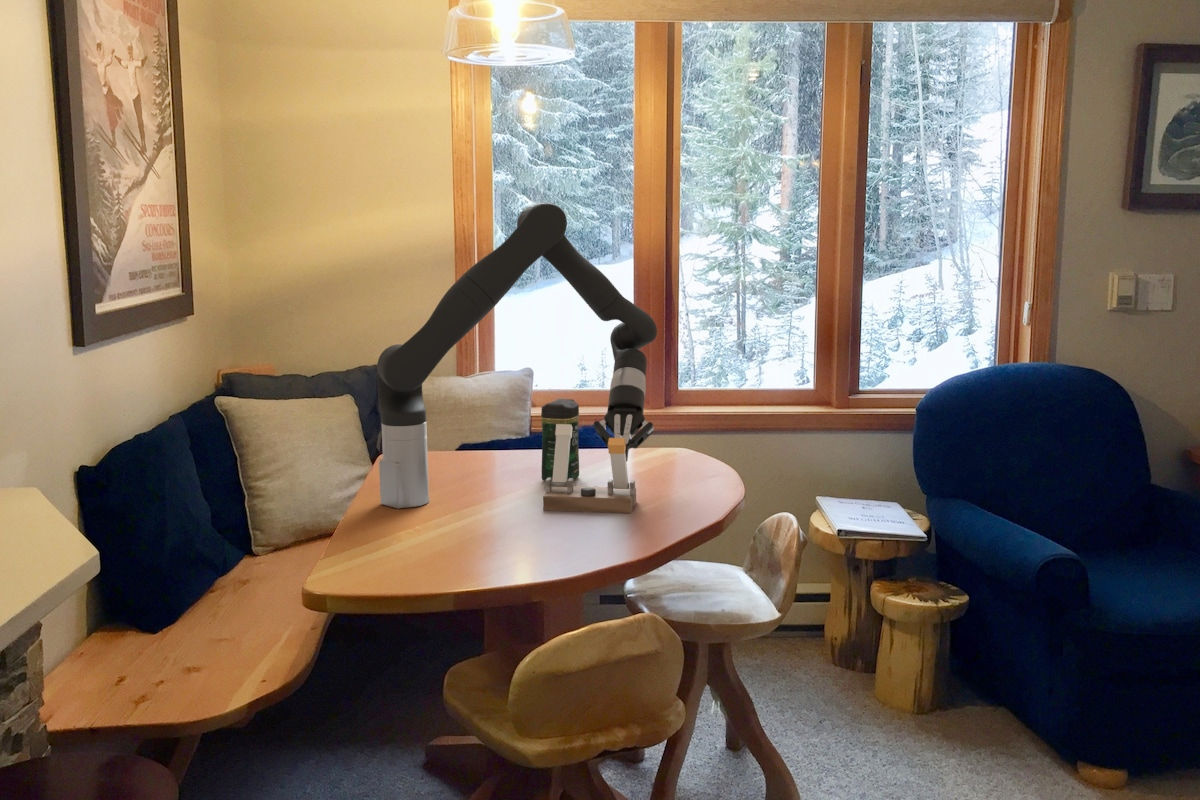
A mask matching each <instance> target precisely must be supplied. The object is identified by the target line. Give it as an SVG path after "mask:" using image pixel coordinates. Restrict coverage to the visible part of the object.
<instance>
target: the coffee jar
mask: <svg viewBox="0 0 1200 800" xmlns="http://www.w3.org/2000/svg"><path fill="white" fill-rule="evenodd" d="M579 408H580V407H579V404H578V402H576V401H575V399H572V398H571V399H570V398H557V399H555V400H553V401H551V402H549V403H546V404H544V405H543V406H541V413H540V415H541V416H540V419H541V420H540V421H541V432H542V433H541V480H542V481H543V482H545V480H546V479H547V478H551V482H552V478H553V467H554V456H555V444H556V435H555V432H556V424H571V425H572V427H573V429H572V438H571V440H570V451H569V463H568V475H567V481H568V479H569V478H573V481H575V480H576V479H578V477H579V476H580V454H579V451H580V450H579V421H580V409H579Z"/></svg>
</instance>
